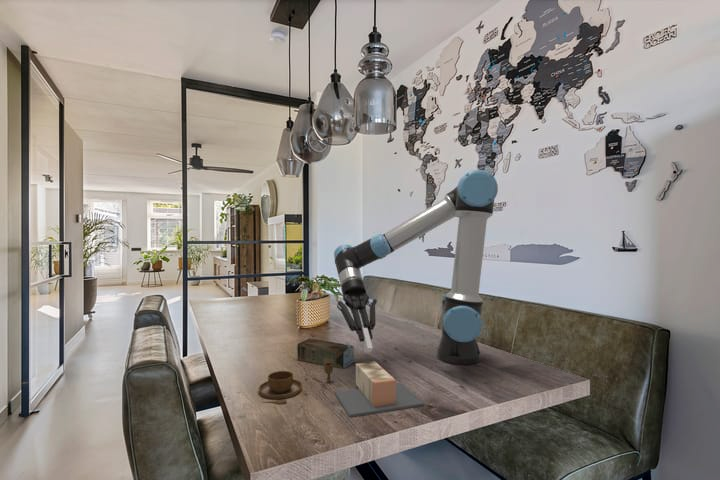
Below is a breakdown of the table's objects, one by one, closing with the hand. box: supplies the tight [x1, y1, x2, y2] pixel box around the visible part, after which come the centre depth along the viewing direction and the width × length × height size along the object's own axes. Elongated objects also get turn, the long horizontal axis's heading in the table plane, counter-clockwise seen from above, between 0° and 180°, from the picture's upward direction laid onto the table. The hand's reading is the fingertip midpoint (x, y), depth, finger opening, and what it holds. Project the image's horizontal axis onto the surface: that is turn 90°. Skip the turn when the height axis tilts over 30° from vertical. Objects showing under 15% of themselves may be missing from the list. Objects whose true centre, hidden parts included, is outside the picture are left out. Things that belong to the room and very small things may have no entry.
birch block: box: [355, 361, 397, 407], centre depth 99 cm, size 6×6×15 cm
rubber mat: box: [334, 382, 425, 418], centre depth 97 cm, size 20×14×1 cm
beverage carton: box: [296, 338, 355, 369], centre depth 127 cm, size 8×19×7 cm, turn 64°
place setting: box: [258, 363, 334, 405], centre depth 103 cm, size 18×20×6 cm
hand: (369, 350), depth 104 cm, fingers closed
